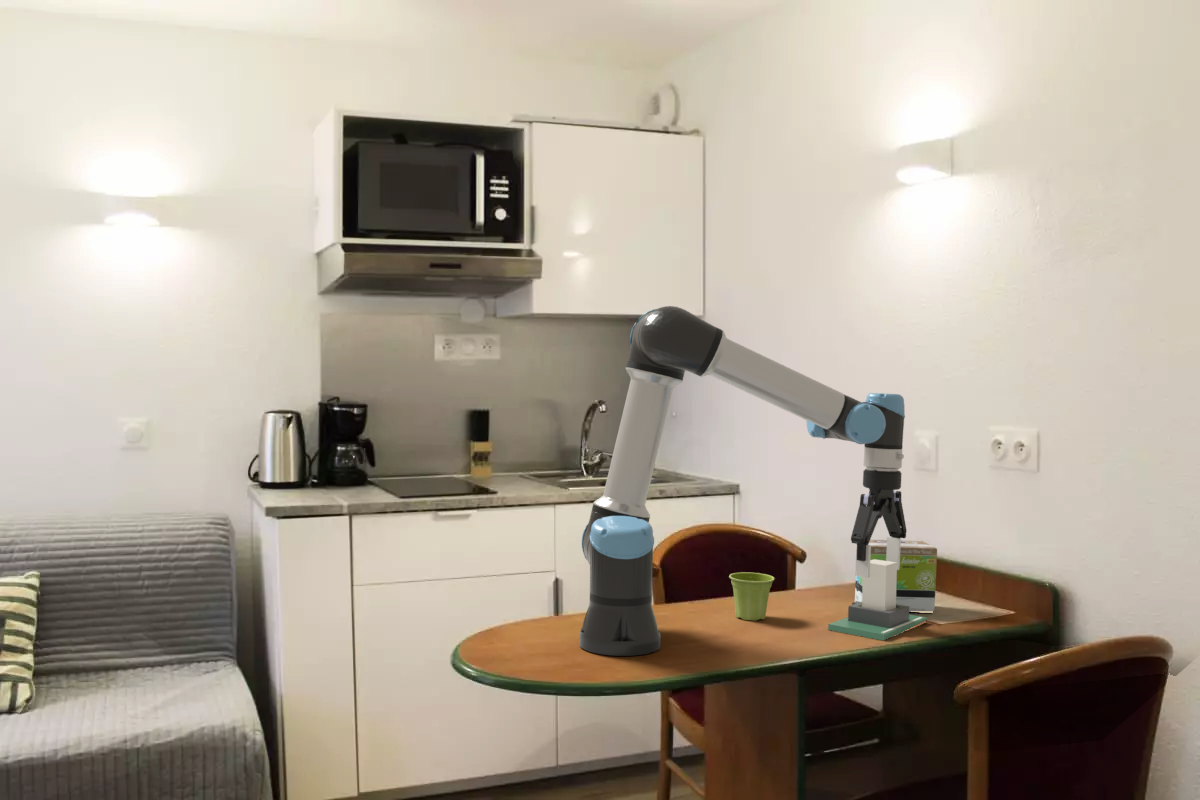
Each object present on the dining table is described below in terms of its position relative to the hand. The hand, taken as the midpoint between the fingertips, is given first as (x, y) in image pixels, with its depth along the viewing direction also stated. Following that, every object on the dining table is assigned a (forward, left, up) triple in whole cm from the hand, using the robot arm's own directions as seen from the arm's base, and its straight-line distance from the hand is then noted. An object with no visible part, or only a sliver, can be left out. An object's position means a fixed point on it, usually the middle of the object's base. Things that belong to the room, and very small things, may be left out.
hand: (877, 573), depth 214 cm
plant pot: (-12, +23, -11) cm, 28 cm away
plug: (0, 0, -10) cm, 10 cm away
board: (0, 0, -11) cm, 11 cm away
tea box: (+18, +5, -11) cm, 22 cm away
